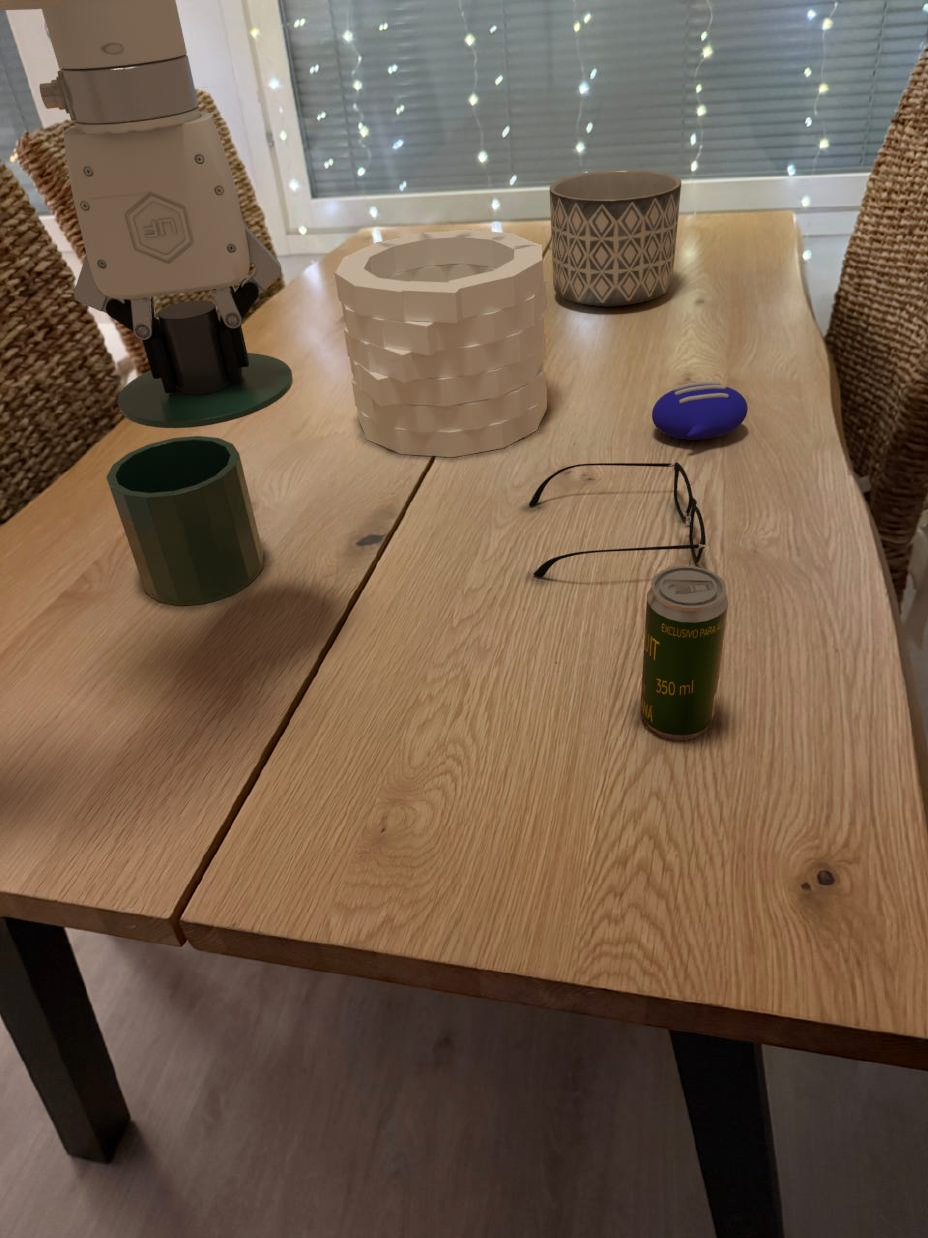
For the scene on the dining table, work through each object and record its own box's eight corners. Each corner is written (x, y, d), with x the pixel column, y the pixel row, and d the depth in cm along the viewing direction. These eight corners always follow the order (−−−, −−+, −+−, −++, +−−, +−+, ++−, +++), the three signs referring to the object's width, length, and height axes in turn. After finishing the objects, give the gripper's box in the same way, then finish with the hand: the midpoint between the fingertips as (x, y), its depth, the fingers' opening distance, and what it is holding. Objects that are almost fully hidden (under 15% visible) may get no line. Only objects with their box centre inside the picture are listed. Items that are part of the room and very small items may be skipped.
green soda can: (705, 692, 71) (720, 561, 64) (720, 741, 66) (738, 607, 59) (634, 695, 71) (641, 566, 64) (645, 744, 67) (654, 612, 60)
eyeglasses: (710, 579, 83) (714, 541, 80) (534, 587, 83) (533, 550, 81) (679, 489, 96) (682, 454, 93) (527, 497, 97) (526, 463, 94)
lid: (85, 427, 65) (54, 336, 61) (186, 360, 75) (164, 277, 71) (237, 444, 61) (214, 347, 57) (323, 371, 71) (309, 284, 67)
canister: (118, 596, 87) (79, 488, 80) (186, 532, 96) (156, 431, 89) (224, 613, 84) (192, 503, 77) (284, 546, 92) (261, 441, 85)
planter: (681, 278, 150) (689, 168, 140) (664, 318, 136) (671, 199, 126) (566, 275, 156) (565, 169, 146) (538, 314, 142) (535, 199, 132)
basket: (394, 372, 127) (377, 228, 116) (565, 379, 121) (564, 228, 109) (324, 455, 108) (295, 292, 97) (523, 469, 102) (517, 296, 90)
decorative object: (657, 397, 98) (652, 373, 107) (652, 450, 101) (648, 422, 110) (758, 399, 97) (745, 375, 106) (750, 453, 100) (739, 425, 108)
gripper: (-24, 120, 53) (79, 418, 63) (270, 89, 54) (321, 385, 65) (6, 102, 58) (95, 377, 69) (270, 75, 60) (317, 348, 71)
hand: (204, 378), depth 67 cm, fingers closed on lid, 4 cm apart
